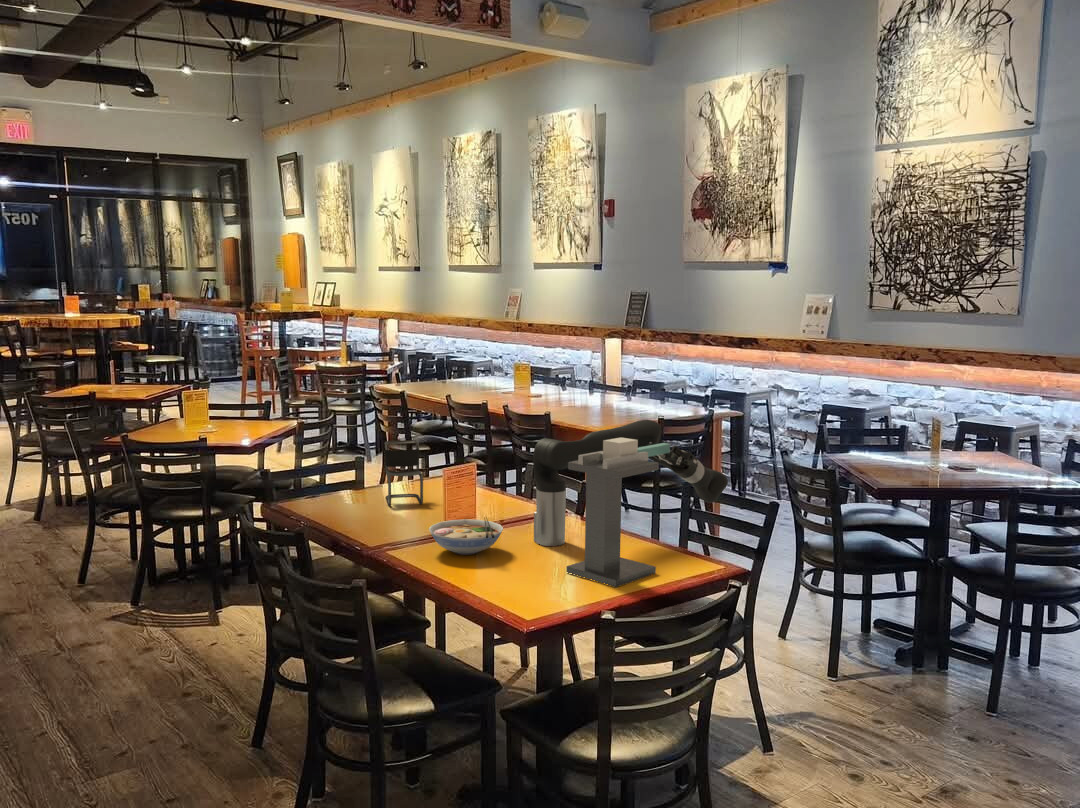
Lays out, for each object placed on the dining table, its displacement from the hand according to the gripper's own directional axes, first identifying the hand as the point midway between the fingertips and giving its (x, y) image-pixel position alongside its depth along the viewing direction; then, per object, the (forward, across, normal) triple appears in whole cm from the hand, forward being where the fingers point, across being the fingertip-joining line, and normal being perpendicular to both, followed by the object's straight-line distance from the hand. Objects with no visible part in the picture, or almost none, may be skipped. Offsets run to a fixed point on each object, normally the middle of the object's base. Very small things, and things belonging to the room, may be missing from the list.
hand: (661, 446), depth 273 cm
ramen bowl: (+15, -45, +48) cm, 68 cm away
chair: (-9, -112, +34) cm, 117 cm away
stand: (+2, 0, +40) cm, 41 cm away
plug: (+9, 0, +7) cm, 11 cm away
